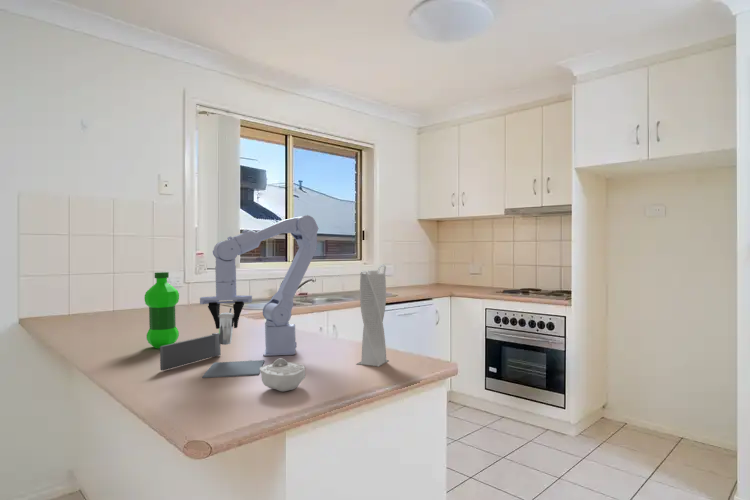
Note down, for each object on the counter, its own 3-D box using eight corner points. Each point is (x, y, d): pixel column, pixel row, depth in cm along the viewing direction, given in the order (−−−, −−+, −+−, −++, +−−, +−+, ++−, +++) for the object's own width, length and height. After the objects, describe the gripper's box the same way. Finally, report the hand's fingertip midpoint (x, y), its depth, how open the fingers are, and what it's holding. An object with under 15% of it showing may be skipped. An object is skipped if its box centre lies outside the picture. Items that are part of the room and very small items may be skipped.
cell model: (265, 400, 99) (265, 369, 99) (256, 385, 110) (256, 357, 110) (311, 393, 103) (310, 363, 103) (298, 379, 114) (297, 352, 114)
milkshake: (236, 341, 137) (238, 308, 137) (229, 345, 132) (231, 311, 132) (222, 340, 138) (223, 307, 138) (214, 344, 132) (216, 310, 132)
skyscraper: (393, 362, 131) (392, 264, 130) (382, 369, 123) (380, 265, 123) (367, 359, 134) (365, 263, 134) (354, 366, 127) (352, 265, 127)
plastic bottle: (157, 343, 160) (156, 271, 160) (185, 343, 159) (184, 271, 158) (139, 349, 150) (137, 273, 150) (168, 350, 149) (167, 273, 148)
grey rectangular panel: (222, 354, 140) (221, 333, 140) (164, 370, 123) (164, 346, 122) (216, 353, 141) (216, 332, 141) (159, 369, 124) (158, 345, 124)
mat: (264, 361, 132) (264, 360, 132) (258, 375, 119) (258, 373, 119) (213, 363, 131) (213, 362, 131) (202, 377, 117) (202, 376, 117)
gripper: (253, 279, 140) (254, 324, 140) (203, 281, 138) (204, 326, 138) (249, 281, 133) (250, 328, 133) (197, 283, 131) (198, 330, 131)
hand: (226, 327), depth 135 cm, fingers closed on milkshake, 4 cm apart
